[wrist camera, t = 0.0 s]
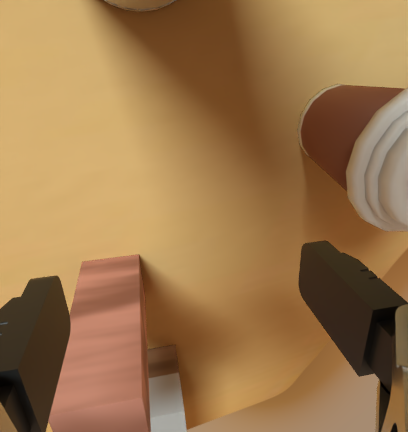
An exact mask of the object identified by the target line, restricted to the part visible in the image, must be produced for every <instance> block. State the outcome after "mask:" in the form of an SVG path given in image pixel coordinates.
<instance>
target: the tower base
mask: <svg viewBox="0 0 408 432" xmlns="http://www.w3.org/2000/svg"><path fill="white" fill-rule="evenodd" d="M147 353H148V376H149V378H153V377H158V376H163V375H169V374H174V373H179V369H178V361H177V354H176V347H175V345H171V346H165V347H159V348H153V349H147Z"/></svg>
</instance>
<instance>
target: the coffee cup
mask: <svg viewBox="0 0 408 432" xmlns="http://www.w3.org/2000/svg"><path fill="white" fill-rule="evenodd" d="M297 132H298V139H299V144H300V146H301V147H302V149H303V150H304V152H305V154H306V155H308V156H309V157H310V158H311V159H313V160H314V161H315V162H316V163H317V164H318V165H319V166H320V167H321V168H322V169H323V170H325V171H326V172H327V173H328V174H329V175H330V176H331V177H332V178H333V179H334V180H336V181H337V182H338V183H339V184H340V185H341V186H342V187H343V188H344V189H345V190H346V191H347V194H348V199H349V201H350V202H351V204H352V205H353V207H354V209H355V210H356V212H357V213H358V215H359V217H361V218H362V219H363V220H365V221H366V222H368V223H370V224H372V225H374V226H376V227H378V228H380V229H382V230H384V231H408V88H406V89H402V88H385V87H367V86H351V85H341V84H336V85H333V86H330V87H327V88H325V89H322V90H321V91H320V92H319V93H317V94H316V95H315V96H314V97H313V98H311V99H310V100H309V102H308V103H307V105H306V107H305V108H304V110H303V111H302V113H301V115H300V120H299V124H298V128H297Z"/></svg>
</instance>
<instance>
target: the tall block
mask: <svg viewBox="0 0 408 432" xmlns="http://www.w3.org/2000/svg"><path fill="white" fill-rule="evenodd" d="M70 322H71V331H70V337H69V341H68V345H67V349H66V353H65V357H64V361H63V365H62V369H61V373H60V377H59V381H58V385H57V388H56V392H55V396H54V400H53V404H52V408H51V412H50V416H49V420H48V421H49V424H50V426H51V428H52V431H53V432H151V422H150V399H149V376H148V353H147V330H146V307H145V293H144V286H143V279H142V273H141V266H140V259H139V255H131V256H123V257H115V258H108V259H100V260H92V261H84V262H82V265H81V269H80V273H79V277H78V282H77V286H76V290H75V295H74V299H73V303H72V308H71V312H70Z"/></svg>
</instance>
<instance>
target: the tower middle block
mask: <svg viewBox="0 0 408 432" xmlns="http://www.w3.org/2000/svg"><path fill="white" fill-rule="evenodd" d="M149 399H150V422H151V432H187V429H186V421H185V412H184V405H183V398H182V390H181V383H180V376H179V373H174V374H169V375H163V376H158V377H153V378H149Z"/></svg>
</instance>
